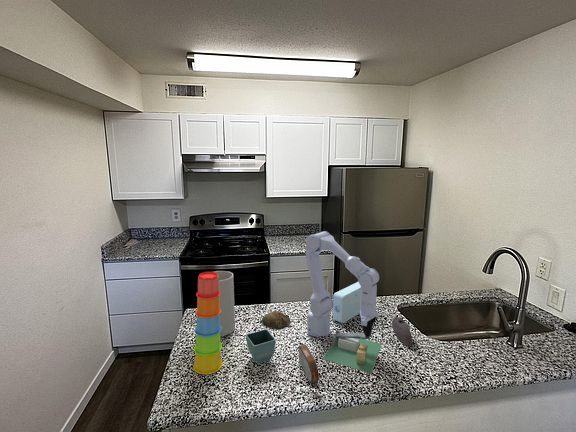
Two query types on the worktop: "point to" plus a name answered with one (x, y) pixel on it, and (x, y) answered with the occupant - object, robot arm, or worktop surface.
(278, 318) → the bread roll
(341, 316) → the light blue box
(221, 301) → the cylinder vase
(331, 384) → the worktop surface
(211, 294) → the stacking cups
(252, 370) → the worktop surface
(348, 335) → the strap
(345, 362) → the green board with slider
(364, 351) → the block
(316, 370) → the tin
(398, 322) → the perforated stone tool
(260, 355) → the flower pot
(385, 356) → the worktop surface
